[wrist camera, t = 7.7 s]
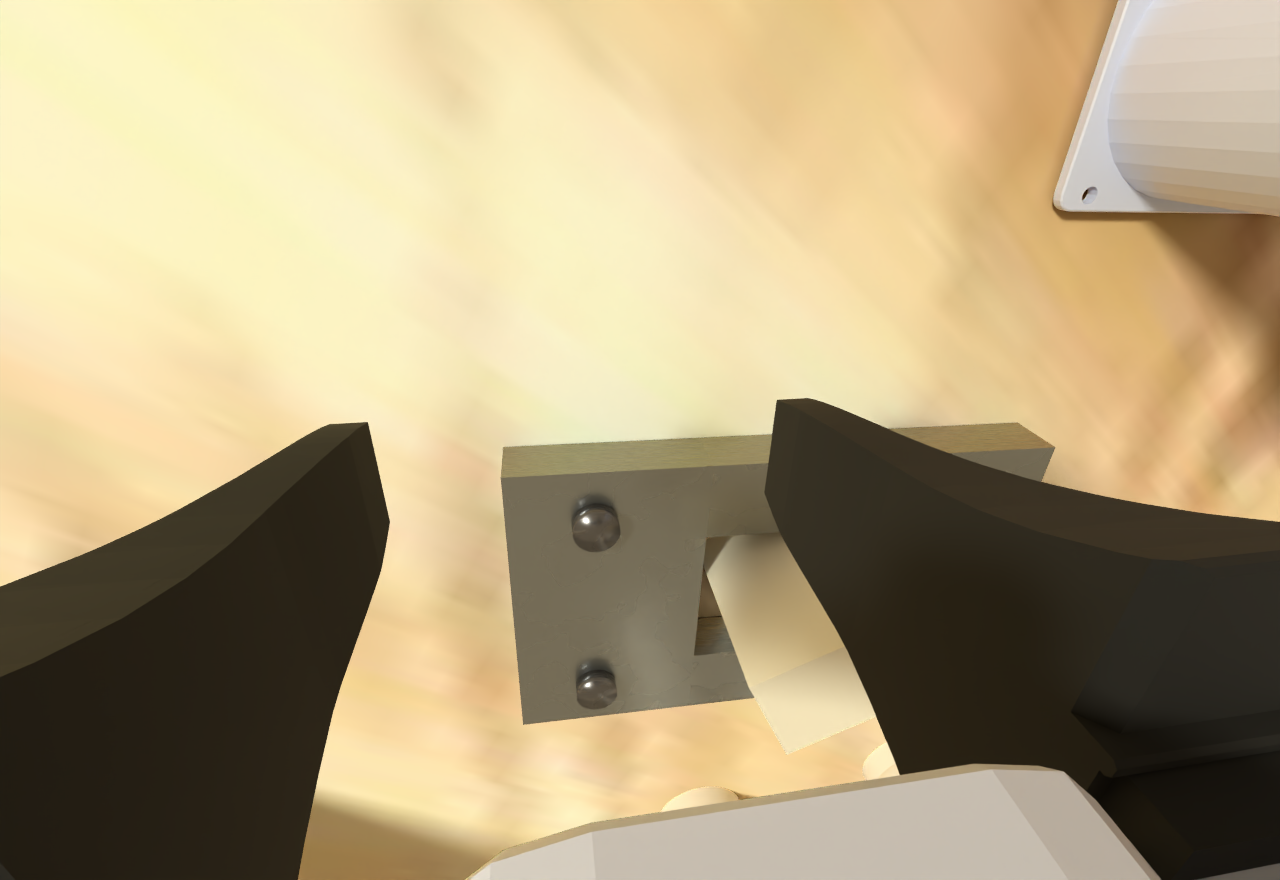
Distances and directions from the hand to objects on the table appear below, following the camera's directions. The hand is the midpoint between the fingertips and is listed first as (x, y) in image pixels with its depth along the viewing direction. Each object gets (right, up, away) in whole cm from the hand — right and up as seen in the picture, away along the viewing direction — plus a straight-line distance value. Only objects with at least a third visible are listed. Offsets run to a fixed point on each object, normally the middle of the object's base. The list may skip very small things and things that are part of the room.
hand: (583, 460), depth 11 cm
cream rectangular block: (+6, -5, +15) cm, 16 cm away
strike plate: (+6, -5, +15) cm, 16 cm away
